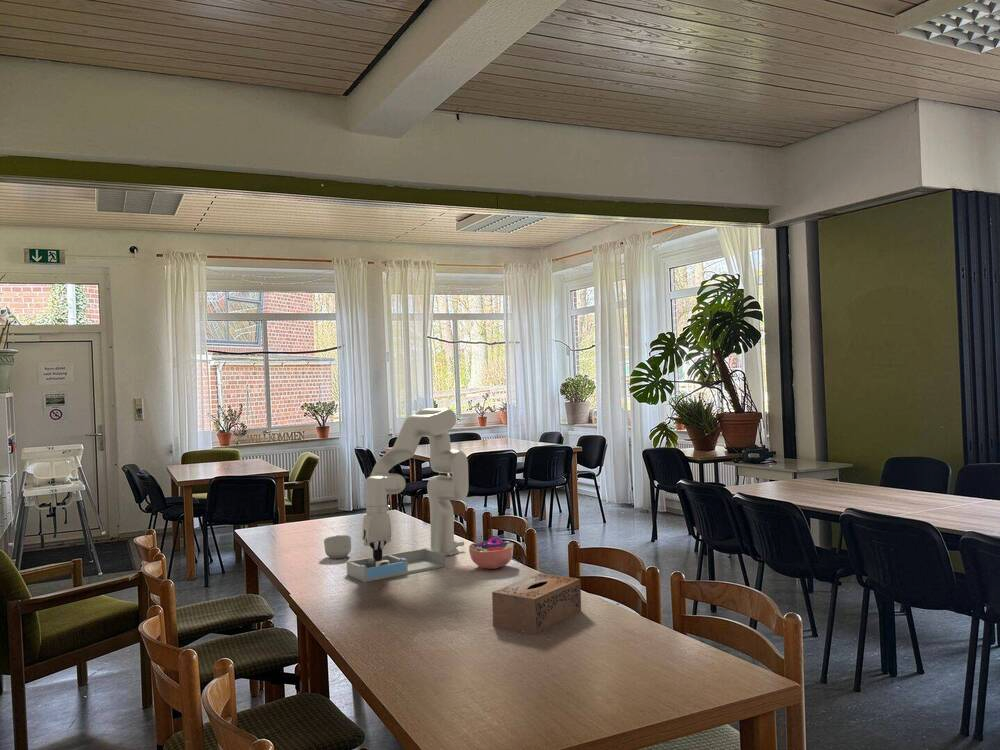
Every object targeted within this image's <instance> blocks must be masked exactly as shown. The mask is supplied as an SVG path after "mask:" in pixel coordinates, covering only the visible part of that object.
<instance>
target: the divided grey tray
mask: <svg viewBox="0 0 1000 750" xmlns="http://www.w3.org/2000/svg"><path fill="white" fill-rule="evenodd" d="M430 549H431V548H428V547H423V548H418V549H411V550H405V551H400V552H393V553H388V554H382V561H383V560H388V561H389V564H387V565H382V566H376V567H370V568H367V565H366V564H367V561H368V559H370V558H373V556H370V557H364V558H363V557H362V558H358V559H352V560H347V561H346V575H347V576H349V577H351V578H354V579H356V580H358V581H360V582H364V583H367V582H371V581H372V582H373V581H377V580H383V579H387V578H388V579H389V578H393V577H399V576H403V575H404V576H405V575H408V574H414V573H415V574H416V573H419V572H426V571H431V570H430V569H432V570H435V568H437V569H441V568H440V567H442V568H446V556H445V554H443V553H439V552H436V551H433V550H430ZM425 570H426V571H425Z"/></svg>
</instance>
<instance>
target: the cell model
mask: <svg viewBox="0 0 1000 750" xmlns="http://www.w3.org/2000/svg"><path fill="white" fill-rule="evenodd" d="M468 548H469V549H468V550H469V556H470V559H471V561H472V562H473V563H474V564H475V565H476V566H478V567H480V568H481V569H487V570H488V569H491V570H493V569H494V570H495V569H499V568H501V567H505V566H507V565H508V564H509V563H510V562H511V560H512V559H513V555H514V543H513V542H511V541H507V540H502V539H501V537H499V536H497V535H492V536H489V537H488V540H483V541H478V542H473V543H471V544H469V546H468Z"/></svg>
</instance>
